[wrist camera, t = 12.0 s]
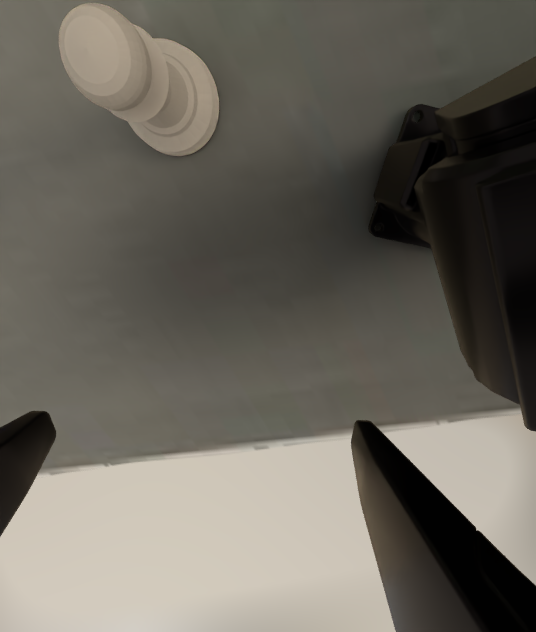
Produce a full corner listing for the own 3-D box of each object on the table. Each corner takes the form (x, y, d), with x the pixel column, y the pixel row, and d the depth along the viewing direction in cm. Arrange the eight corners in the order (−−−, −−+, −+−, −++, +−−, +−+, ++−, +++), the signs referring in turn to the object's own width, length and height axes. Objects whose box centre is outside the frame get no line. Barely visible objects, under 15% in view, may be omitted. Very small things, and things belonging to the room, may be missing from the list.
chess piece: (151, 167, 17) (59, 166, 10) (110, 63, 15) (-46, -37, 8) (232, 141, 16) (199, 119, 9) (200, 28, 14) (125, -115, 7)
